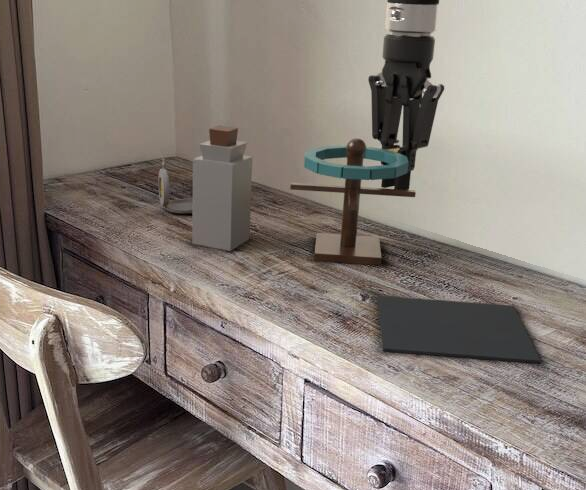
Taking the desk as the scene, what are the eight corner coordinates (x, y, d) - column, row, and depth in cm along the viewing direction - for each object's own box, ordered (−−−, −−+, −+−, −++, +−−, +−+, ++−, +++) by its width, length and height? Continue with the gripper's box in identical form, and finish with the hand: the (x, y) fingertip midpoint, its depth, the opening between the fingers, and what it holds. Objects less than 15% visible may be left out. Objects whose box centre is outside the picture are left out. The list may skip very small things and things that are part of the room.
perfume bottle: (212, 231, 134) (214, 122, 127) (249, 238, 131) (253, 127, 124) (192, 243, 128) (193, 129, 121) (230, 251, 125) (233, 134, 119)
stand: (403, 237, 135) (415, 129, 128) (412, 278, 117) (427, 156, 111) (290, 229, 136) (296, 122, 130) (283, 268, 119) (289, 148, 112)
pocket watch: (210, 210, 145) (211, 155, 141) (175, 220, 139) (175, 162, 135) (178, 200, 150) (178, 147, 146) (143, 209, 144) (142, 153, 140)
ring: (412, 156, 129) (413, 146, 129) (422, 183, 114) (423, 171, 113) (307, 151, 131) (307, 141, 130) (302, 176, 115) (303, 165, 115)
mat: (513, 308, 108) (513, 305, 108) (540, 363, 94) (540, 360, 93) (377, 298, 110) (377, 295, 110) (382, 351, 95) (383, 348, 95)
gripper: (355, 30, 124) (344, 181, 132) (433, 39, 113) (416, 202, 121) (388, 29, 128) (376, 175, 137) (467, 37, 117) (448, 195, 126)
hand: (395, 187), depth 129 cm, fingers closed on ring, 2 cm apart
